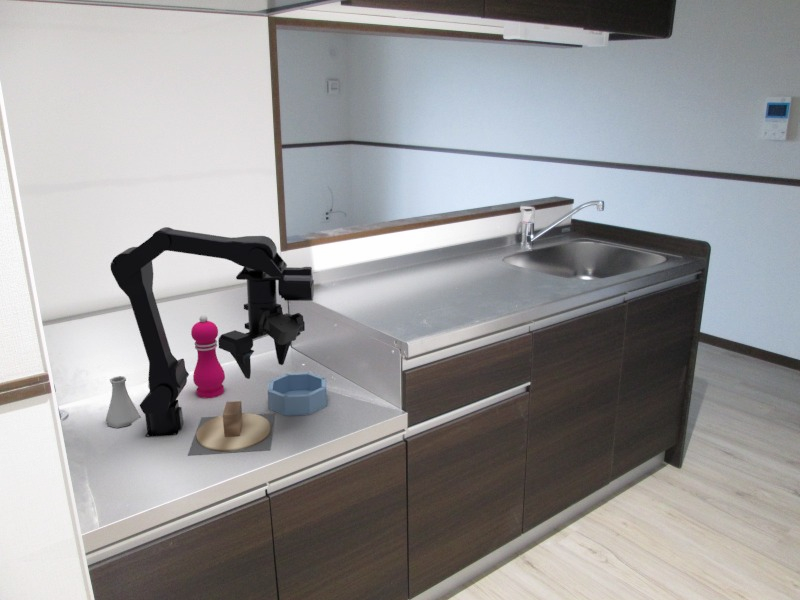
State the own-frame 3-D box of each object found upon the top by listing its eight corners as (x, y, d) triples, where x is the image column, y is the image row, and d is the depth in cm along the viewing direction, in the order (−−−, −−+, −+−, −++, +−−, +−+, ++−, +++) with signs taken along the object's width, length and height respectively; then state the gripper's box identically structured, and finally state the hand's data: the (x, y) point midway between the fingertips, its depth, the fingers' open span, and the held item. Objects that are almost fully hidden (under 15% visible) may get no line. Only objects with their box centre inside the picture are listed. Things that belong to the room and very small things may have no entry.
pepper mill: (232, 392, 154) (225, 313, 148) (209, 403, 148) (201, 322, 142) (212, 385, 157) (204, 308, 151) (188, 396, 152) (179, 316, 146)
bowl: (267, 419, 141) (266, 398, 139) (271, 393, 153) (270, 374, 151) (327, 415, 142) (326, 395, 141) (326, 390, 155) (325, 371, 153)
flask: (130, 409, 145) (125, 369, 142) (147, 419, 141) (142, 377, 138) (99, 421, 140) (93, 379, 137) (116, 432, 135) (109, 389, 132)
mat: (187, 458, 125) (187, 455, 125) (201, 419, 140) (201, 417, 140) (270, 452, 127) (270, 450, 127) (275, 415, 142) (275, 413, 142)
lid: (190, 454, 125) (187, 427, 124) (203, 418, 140) (200, 394, 138) (267, 449, 127) (266, 423, 126) (272, 414, 142) (271, 390, 140)
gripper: (253, 319, 116) (257, 397, 121) (323, 297, 131) (323, 367, 135) (214, 307, 123) (219, 381, 127) (285, 287, 137) (286, 354, 142)
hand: (264, 371), depth 133 cm, fingers open, 9 cm apart
